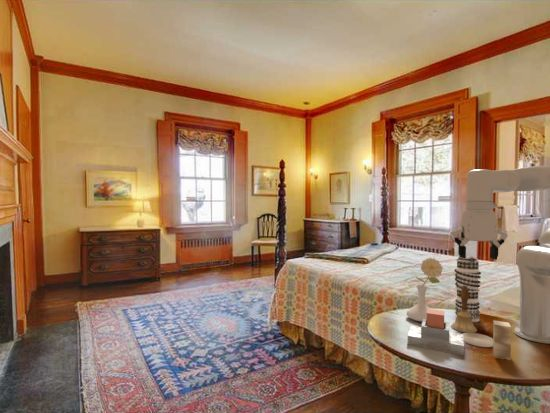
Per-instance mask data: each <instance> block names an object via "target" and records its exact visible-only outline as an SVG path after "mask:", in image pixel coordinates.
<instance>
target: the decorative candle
mask: <svg viewBox="0 0 550 413" xmlns="http://www.w3.org/2000/svg"><path fill="white" fill-rule="evenodd" d="M455 260H456V265H457V266H456V268H455V269H454V272H455V273H454V276H455V278H454V281H455V283H454V284H455V290H456V295H455V302H456V303H455V306H456V307H455V308H454V309H455V312H454V313H455V316H454V317H455V318H457V313H459V312H461V311H462V300H461V290H462V288H463V286H467V289H468V292H469V298H468V301H467V313H468V314H470V315H471V320H472V323H477V322H480V313H481V312H480V310H479V309H480V308H481V307H480V297H479V292H480V289H479V288H481V285H480V283H481V281H480V280H479V279H481V278H482V276H480V275H482V272H480V268H479V266H480V265H479V264H480V261H479V260H478V258H476V257H475V256H471V255H466V258H461V257H457V258H456V259H455Z"/></svg>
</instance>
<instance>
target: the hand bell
mask: <svg viewBox="0 0 550 413" xmlns="http://www.w3.org/2000/svg"><path fill="white" fill-rule="evenodd" d="M468 298H469V292H468V289H467V286H463V288H462V290H461V300H462V311H461V312H459V313H457V318H456V317H455V318H456V319H455V321H454V322H453V323H452V324H451V325H450V327H451V328H452V329H454V330H455V331H458V332H462V333H477V331H478V329H477V328H476V327H475V326H474V323H473V322H472V320H471V315H470V314H468V313H467V301H468Z"/></svg>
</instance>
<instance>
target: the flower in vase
mask: <svg viewBox="0 0 550 413" xmlns="http://www.w3.org/2000/svg"><path fill="white" fill-rule="evenodd" d="M420 270H421V271H422V272H423V274H424V275H426V276H428V277H427V278H426V280H425V281H424V279H423V278H422V279H421V278H419V277H417V276H415V279H417V280H419V281H421V282H423V283H415V284H414V285H415V287H416V289H417V292H418V302H417V303H416V304H415V305H414V306H412V307H411V308H409V309H408V310H407V311H406V316H407V317H408V318H409V319H411V320H413V321H416V322H419V323H420V322H421V323H422V321H423V319H427V310H428V309H431V308H430V307H429V306H428V305H427V304H426V303H427V302H426V292H427V289H428V288H429V284H426V283H427V281H429V282H430V283H431V284H437V283H441V280H439V279H438V278H437V277H439V276H442V273H443V270H444V268H443V266H442V264H441V263H440V261H439V259H438V260H437V259H435V258H432V257H429V258H426V259H423V260H422V263H421V266H420Z"/></svg>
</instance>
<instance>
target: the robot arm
mask: <svg viewBox="0 0 550 413" xmlns="http://www.w3.org/2000/svg"><path fill="white" fill-rule="evenodd" d="M545 190H550V165H549V164H548V165H534V166H533V165H532V166H527V167H526V166H525V167H519V168H513V169H498V170H497V169H496V170H491V169H487V168H486V169H485V168H484V169H483V168H482V169H472V170H470V171H468V172H467V175H466V196H465V197H466V199H465V200H466V202H465V203H466V204H465V205H466V206H465V210H463V211H462V214H461V220H460V225H459V228H457V229H455V230H453V231H450V232H449V233H450V236H451V238H452V240H453V241H454V242H455V243H456V244H457V246H458V252H457V254H458V256H459V257H461V258H466V256H467V246H466V244H467V243H469V241H472V242H488V243H489V244H490V245H491V246H490V247H489V258H490V259H492V260H495V261H496V260H498V257H499V248H500V247H501V246H502V245H503V244H504V243H505V240H507V238H508V234H507V233H505V232H504V231H502V230H500V229H499V228H498V222H497V215H496V212H495V211H493V210H494V209H497V208H498V205H497V203H494V193H496V194H497V193H498V194H499V193H509V192H534V191H535V192H538V191H545ZM458 234H459V237H458ZM498 235H499V238H498ZM497 238H498V239H497ZM459 257H458V258H459ZM516 264H517V267H518V273H519V326H516V327H515V328H514V330H513V333H514V334H515V335H516V336H518V337H519V338H523V339H524V340H528V341H532V342H535V343H540V344H547V345H548V344H549V345H550V226H548V227H547V228H546V230H545V231H544V232H543V233H542V234H541V236H540V237H539V245H527V246H523V247H521V248H520V249H519V250H518V251H517V253H516Z"/></svg>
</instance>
